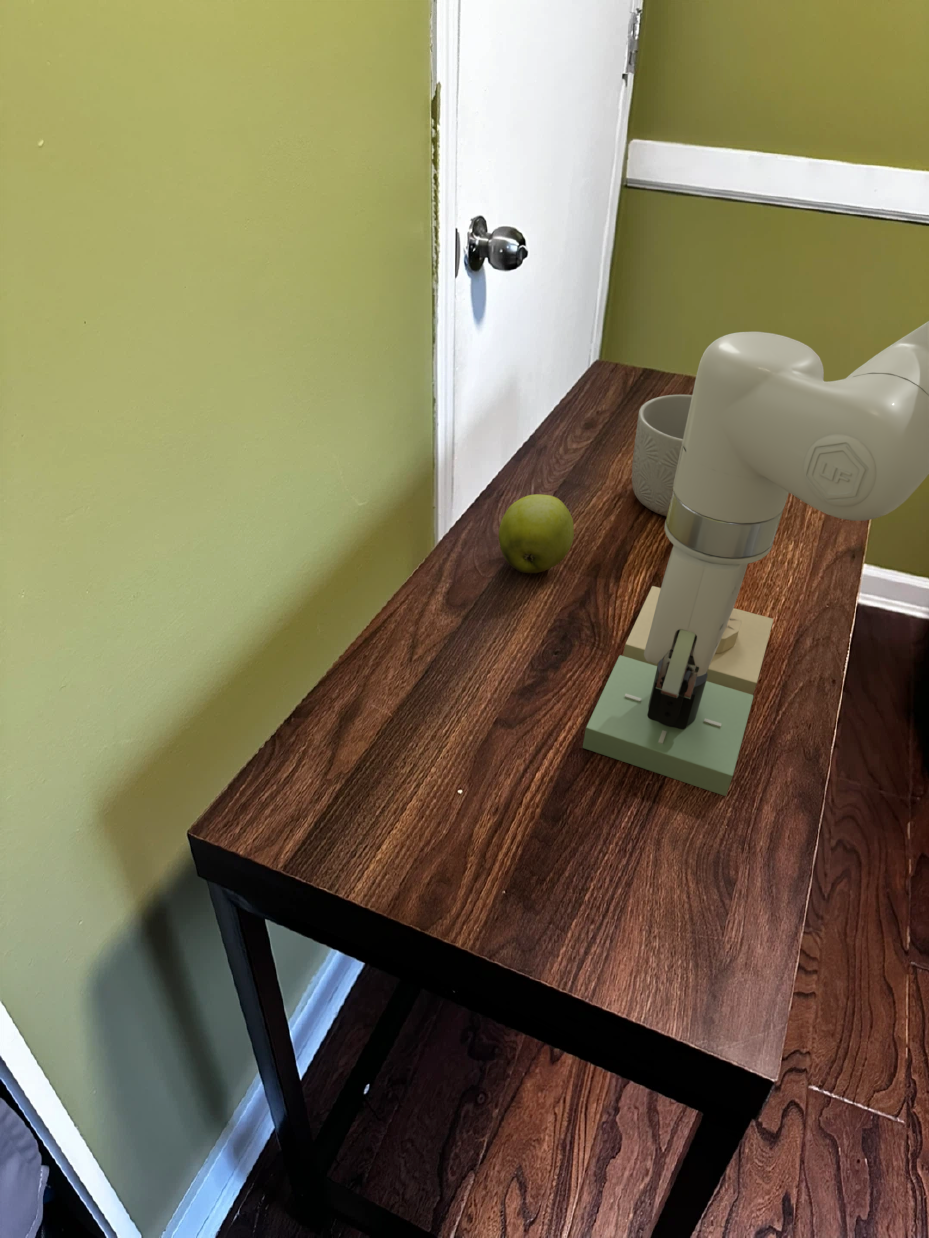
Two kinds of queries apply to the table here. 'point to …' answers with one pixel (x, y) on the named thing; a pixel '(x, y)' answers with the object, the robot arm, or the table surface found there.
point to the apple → (536, 533)
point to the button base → (735, 651)
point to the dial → (698, 687)
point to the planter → (658, 449)
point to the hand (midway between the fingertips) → (674, 701)
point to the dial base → (669, 729)
